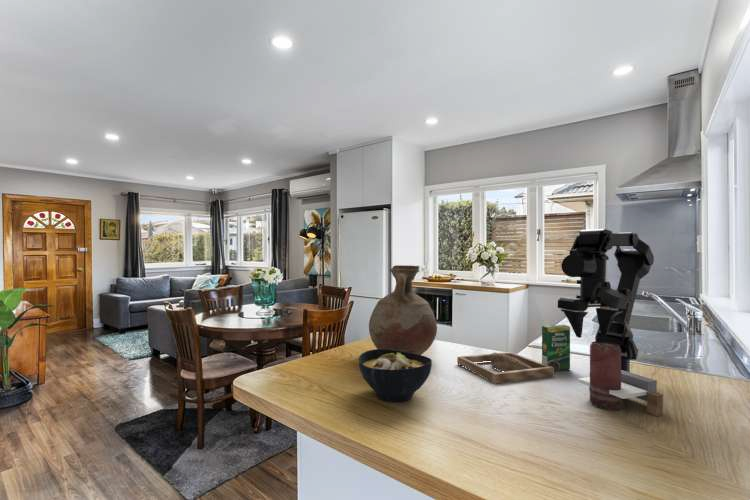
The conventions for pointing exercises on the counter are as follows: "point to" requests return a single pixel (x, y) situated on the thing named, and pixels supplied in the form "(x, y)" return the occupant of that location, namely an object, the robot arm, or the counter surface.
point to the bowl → (394, 373)
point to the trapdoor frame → (654, 403)
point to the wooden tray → (500, 377)
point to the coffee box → (556, 346)
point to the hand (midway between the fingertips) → (591, 336)
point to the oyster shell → (507, 362)
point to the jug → (403, 317)
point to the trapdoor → (630, 386)
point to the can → (605, 374)
